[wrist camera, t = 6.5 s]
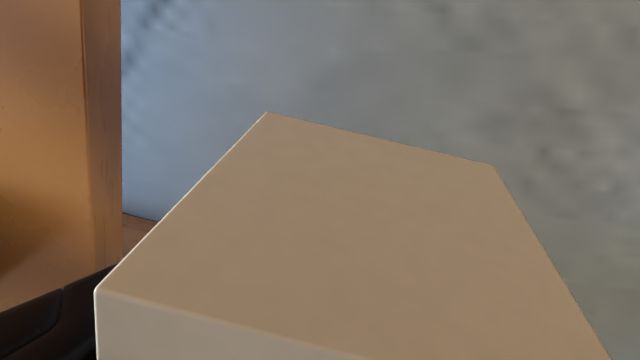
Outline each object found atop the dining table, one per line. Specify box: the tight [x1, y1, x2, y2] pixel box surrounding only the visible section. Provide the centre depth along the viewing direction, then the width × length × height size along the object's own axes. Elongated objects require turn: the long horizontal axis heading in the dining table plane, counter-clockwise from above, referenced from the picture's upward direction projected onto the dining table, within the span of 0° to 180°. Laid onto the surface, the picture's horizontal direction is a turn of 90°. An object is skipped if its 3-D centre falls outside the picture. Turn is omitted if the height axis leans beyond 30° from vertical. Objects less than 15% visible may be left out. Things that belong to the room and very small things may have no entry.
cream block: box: [94, 112, 612, 360], centre depth 7 cm, size 5×5×6 cm
